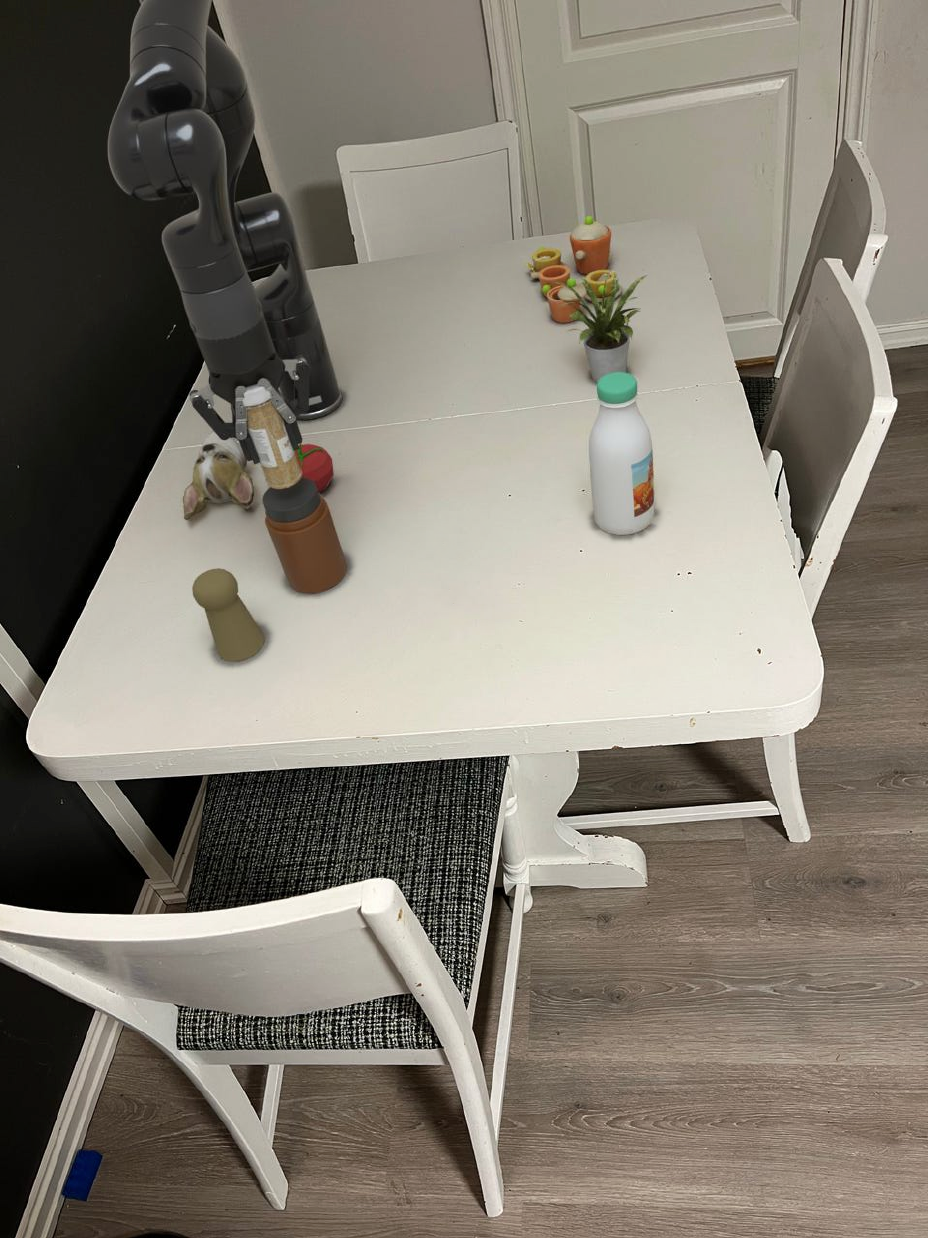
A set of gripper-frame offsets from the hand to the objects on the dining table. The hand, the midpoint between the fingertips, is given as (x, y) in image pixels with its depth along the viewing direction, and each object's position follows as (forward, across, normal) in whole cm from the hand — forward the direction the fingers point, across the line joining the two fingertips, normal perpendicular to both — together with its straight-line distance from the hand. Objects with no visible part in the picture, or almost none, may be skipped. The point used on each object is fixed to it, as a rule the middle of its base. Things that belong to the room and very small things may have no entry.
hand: (275, 453), depth 111 cm
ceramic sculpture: (+19, +8, -25) cm, 32 cm away
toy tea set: (+19, -62, -51) cm, 82 cm away
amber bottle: (+19, 0, 0) cm, 19 cm away
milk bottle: (+19, -39, +11) cm, 45 cm away
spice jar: (+4, 0, 0) cm, 4 cm away
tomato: (+19, -4, -19) cm, 27 cm away
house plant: (+19, -52, -22) cm, 60 cm away
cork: (+19, +12, +8) cm, 24 cm away
